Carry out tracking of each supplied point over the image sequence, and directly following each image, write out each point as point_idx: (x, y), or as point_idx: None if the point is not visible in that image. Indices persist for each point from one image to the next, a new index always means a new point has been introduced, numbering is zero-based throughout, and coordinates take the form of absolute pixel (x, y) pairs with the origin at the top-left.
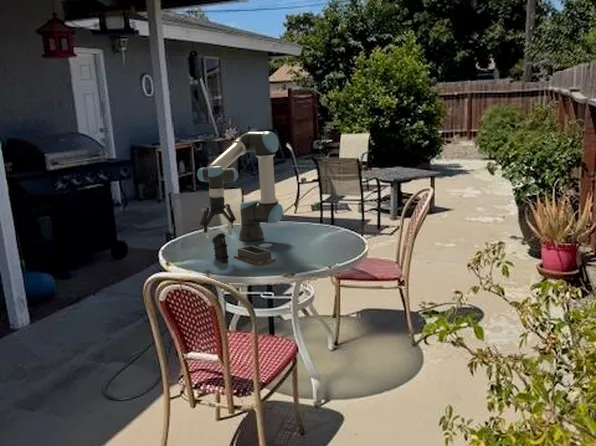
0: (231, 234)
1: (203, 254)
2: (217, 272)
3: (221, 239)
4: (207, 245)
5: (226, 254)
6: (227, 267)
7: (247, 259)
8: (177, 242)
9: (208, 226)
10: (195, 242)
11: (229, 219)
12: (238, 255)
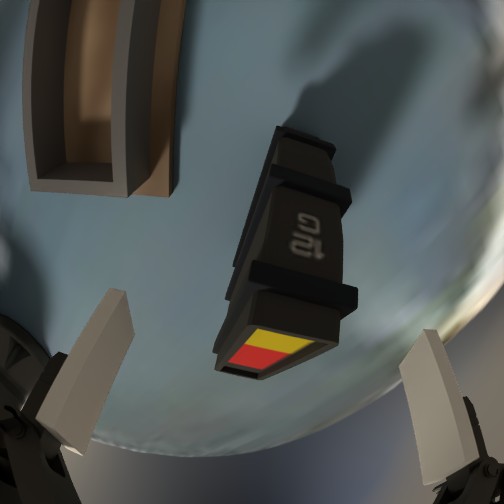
0: (114, 292)
1: None
2: (468, 33)
3: (324, 250)
4: (166, 403)
5: (291, 142)
6: (370, 38)
7: (166, 40)
8: (220, 451)
9: (466, 462)
10: (180, 432)
11: (43, 483)
12: (149, 172)
